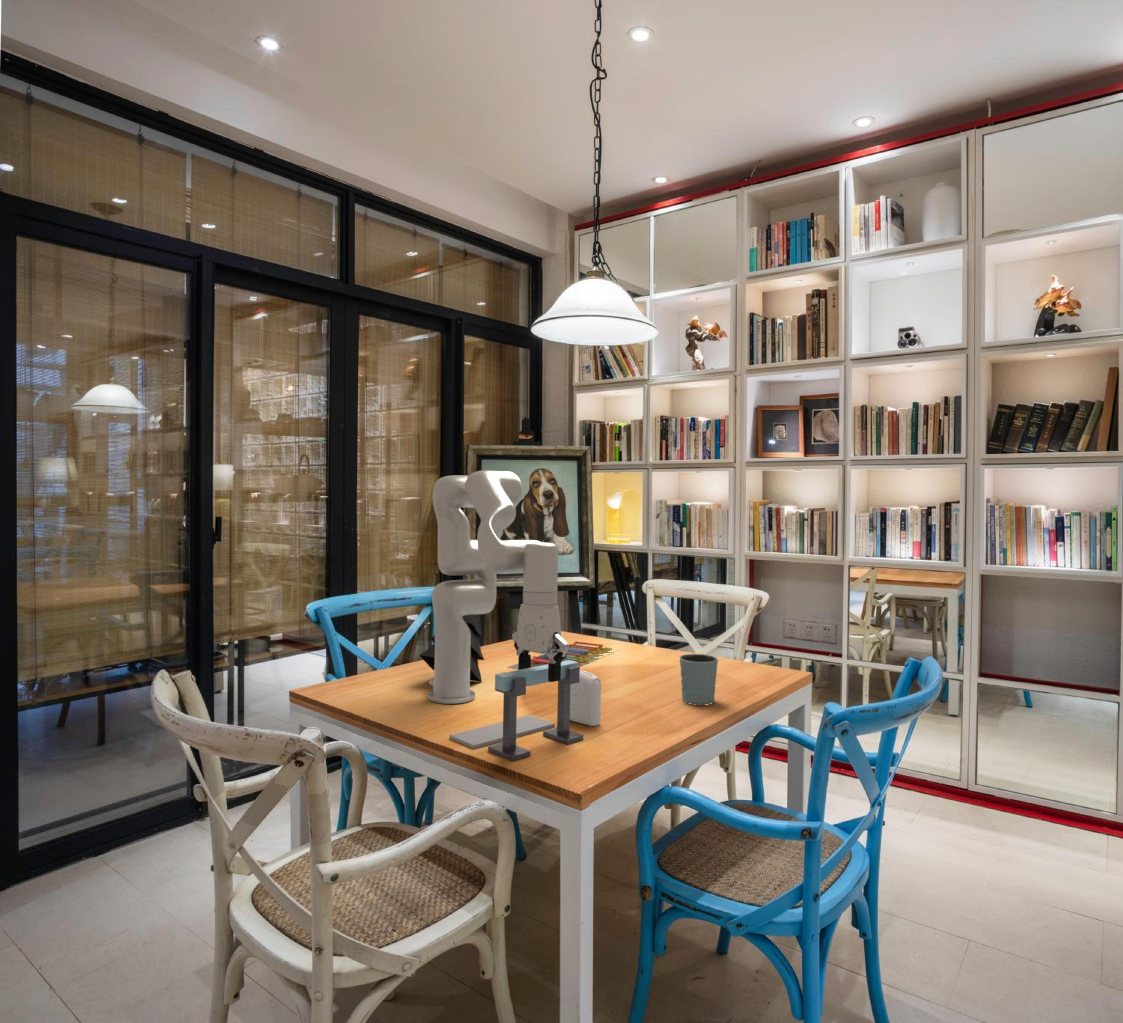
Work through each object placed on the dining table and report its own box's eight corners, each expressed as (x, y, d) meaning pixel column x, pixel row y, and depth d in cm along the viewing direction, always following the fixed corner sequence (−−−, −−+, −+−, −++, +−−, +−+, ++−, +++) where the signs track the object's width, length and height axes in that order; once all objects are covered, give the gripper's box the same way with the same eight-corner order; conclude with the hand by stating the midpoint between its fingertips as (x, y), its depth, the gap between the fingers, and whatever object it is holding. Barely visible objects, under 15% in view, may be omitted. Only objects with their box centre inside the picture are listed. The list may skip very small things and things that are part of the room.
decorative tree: (478, 695, 215) (511, 589, 233) (458, 674, 204) (494, 565, 222) (434, 689, 220) (470, 586, 239) (412, 668, 209) (451, 562, 227)
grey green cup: (721, 700, 203) (722, 656, 203) (709, 709, 194) (710, 663, 194) (686, 694, 208) (687, 652, 208) (673, 702, 199) (674, 658, 199)
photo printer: (559, 718, 183) (560, 668, 183) (571, 715, 186) (572, 666, 186) (591, 728, 176) (592, 676, 176) (603, 724, 179) (604, 673, 179)
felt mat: (449, 738, 166) (449, 735, 166) (529, 718, 183) (529, 714, 183) (473, 749, 160) (473, 745, 159) (554, 726, 176) (554, 723, 176)
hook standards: (488, 751, 158) (489, 674, 158) (558, 731, 173) (560, 660, 173) (512, 761, 153) (513, 681, 152) (583, 739, 167) (585, 666, 167)
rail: (494, 688, 156) (495, 674, 156) (569, 673, 171) (569, 660, 171) (504, 691, 154) (504, 677, 154) (578, 675, 169) (578, 662, 169)
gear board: (560, 669, 227) (506, 661, 236) (560, 677, 227) (506, 669, 236) (618, 644, 267) (571, 639, 276) (618, 651, 267) (571, 646, 276)
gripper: (501, 596, 166) (500, 672, 166) (555, 604, 153) (553, 687, 154) (526, 594, 171) (525, 668, 171) (580, 601, 159) (579, 681, 159)
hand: (539, 677), depth 162 cm, fingers open, 9 cm apart
